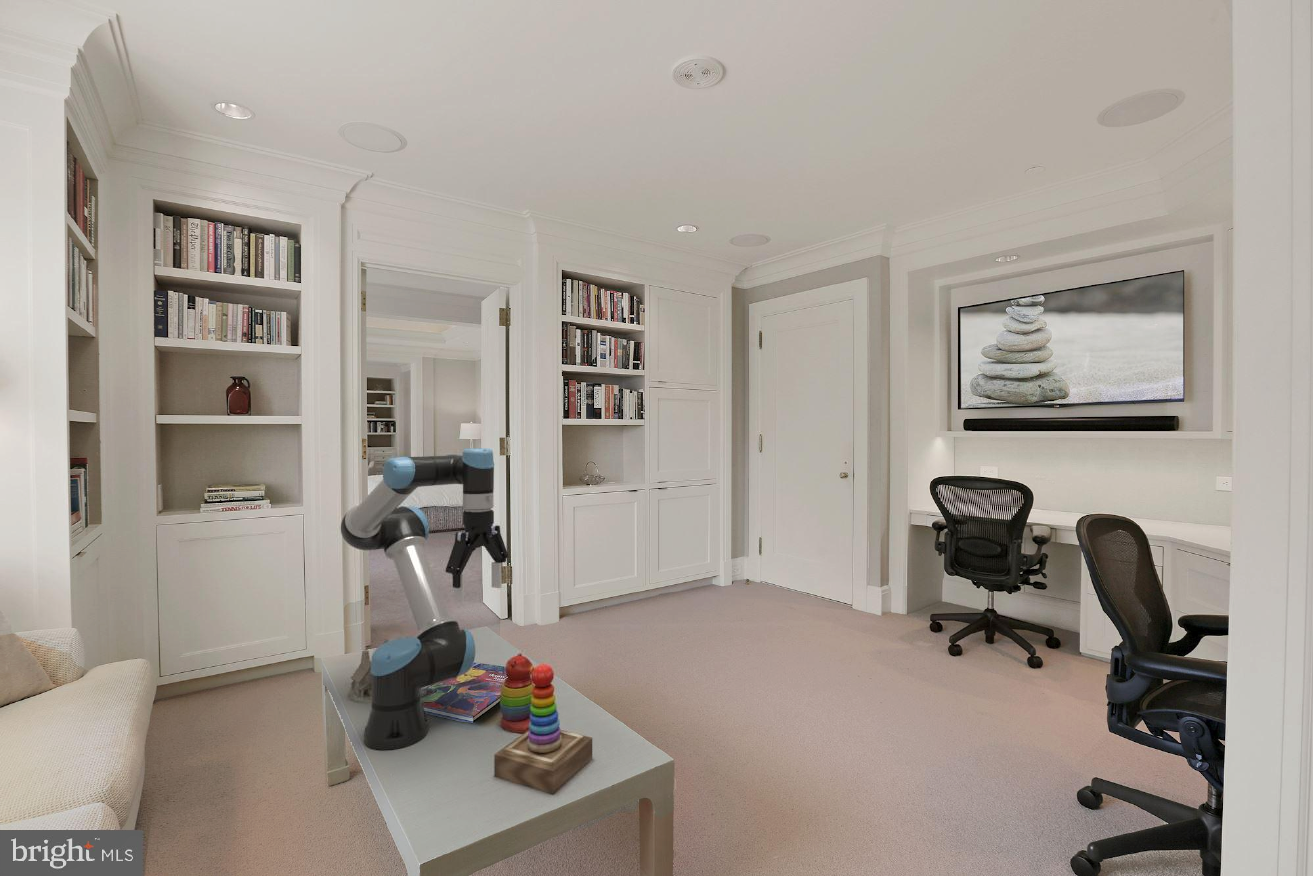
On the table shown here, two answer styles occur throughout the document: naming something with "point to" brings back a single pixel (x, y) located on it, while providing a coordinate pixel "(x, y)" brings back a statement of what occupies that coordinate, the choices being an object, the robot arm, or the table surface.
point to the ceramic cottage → (362, 680)
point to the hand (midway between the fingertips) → (478, 593)
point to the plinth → (543, 762)
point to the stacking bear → (517, 695)
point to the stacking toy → (543, 713)
